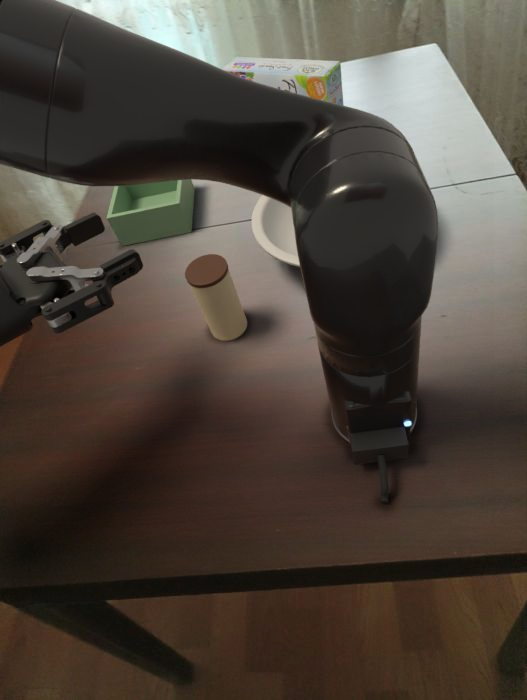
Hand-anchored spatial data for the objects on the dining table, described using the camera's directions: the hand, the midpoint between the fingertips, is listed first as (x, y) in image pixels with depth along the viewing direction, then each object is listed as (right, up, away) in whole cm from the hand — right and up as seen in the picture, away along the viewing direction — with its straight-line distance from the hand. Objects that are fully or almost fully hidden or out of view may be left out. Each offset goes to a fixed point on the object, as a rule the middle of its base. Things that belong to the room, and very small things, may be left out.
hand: (119, 238), depth 51 cm
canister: (+10, -8, +19) cm, 23 cm away
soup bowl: (+26, +5, +25) cm, 36 cm away
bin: (-4, +13, +38) cm, 41 cm away
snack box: (+20, +27, +43) cm, 55 cm away
